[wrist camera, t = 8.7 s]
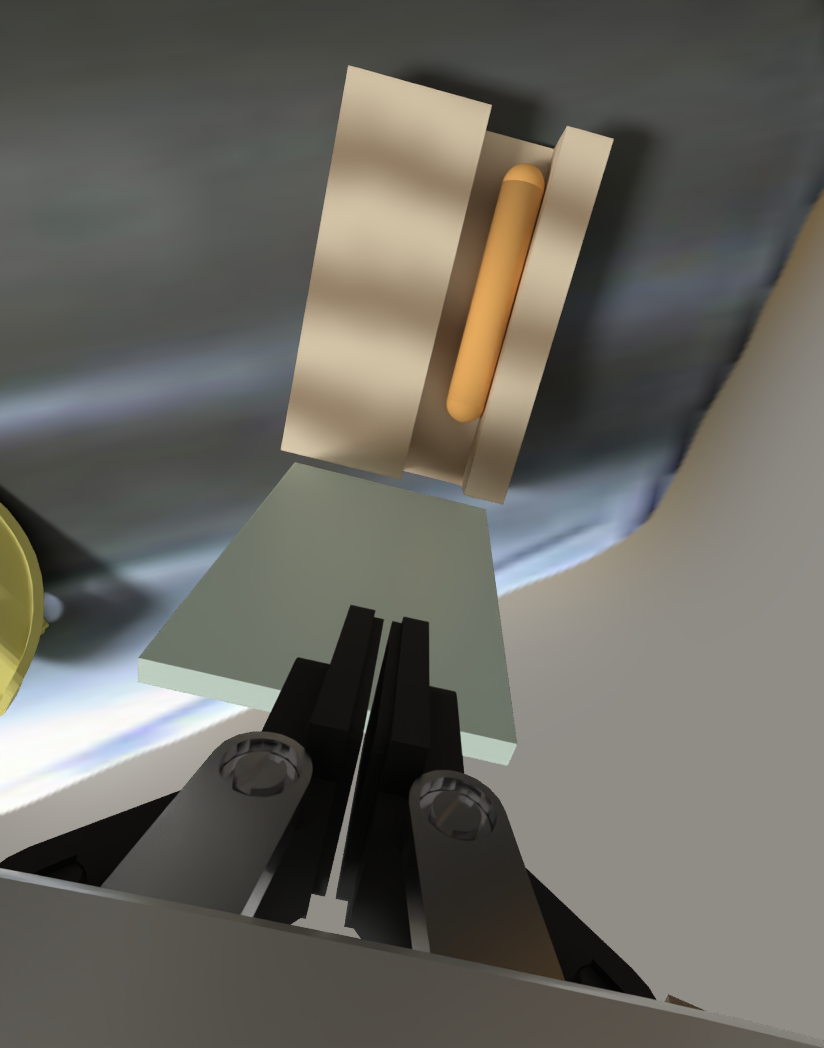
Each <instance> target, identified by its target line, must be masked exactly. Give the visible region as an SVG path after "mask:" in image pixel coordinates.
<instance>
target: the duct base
mask: <svg viewBox="0 0 824 1048" xmlns="http://www.w3.org/2000/svg"><path fill="white" fill-rule="evenodd" d="M491 107H492V105H490V104H486V103H483V102H479V101H475V100H472V99H468V98H465V97H461V96H457V95H454V94H450V93H446V92H443V91H439V90H436V89H432V88H428V87H425V86H421V85H418V84H414V83H410V82H407V81H403V80H400V79H396V78H392V77H389V76H385V75H382V74H378V73H374V72H371V71H367V70H363V69H360V68H356V67H353V66H349V65H348V71H347V76H346V82H345V88H344V93H343V99H342V105H341V110H340V116H339V122H338V127H337V133H336V139H335V145H334V150H333V156H332V162H331V167H330V173H329V179H328V184H327V190H326V196H325V201H324V207H323V213H322V219H321V224H320V230H319V236H318V241H317V247H316V253H315V258H314V264H313V270H312V276H311V281H310V287H309V293H308V298H307V304H306V310H305V315H304V321H303V327H302V332H301V338H300V344H299V350H298V355H297V361H296V367H295V372H294V378H293V384H292V389H291V395H290V401H289V406H288V412H287V418H286V424H285V429H284V435H283V441H282V446H281V450H283V451H287V452H291V453H295V454H300V455H304V456H308V457H312V458H316V459H320V460H324V461H328V462H332V463H336V464H340V465H344V466H348V467H352V468H356V469H360V470H365V471H369V472H373V473H377V474H381V475H385V476H389V477H393V478H397V479H401V477H402V473H403V471H407V472H411V473H415V474H419V475H423V476H427V477H431V478H435V479H439V480H443V481H447V482H451V483H455V484H459V485H461V486H462V490H463V493H464V495H466V496H470V497H474V498H478V499H482V500H486V501H490V502H494V503H499V504H504V500H505V497H506V494H507V490H508V487H509V484H510V480H511V477H512V474H513V470H514V467H515V464H516V461H517V457H518V454H519V451H520V447H521V444H522V441H523V437H524V434H525V431H526V427H527V424H528V421H529V418H530V414H531V411H532V408H533V404H534V401H535V398H536V394H537V391H538V388H539V384H540V381H541V378H542V375H543V371H544V368H545V365H546V361H547V358H548V355H549V351H550V348H551V345H552V342H553V338H554V335H555V332H556V328H557V325H558V322H559V318H560V315H561V312H562V308H563V305H564V302H565V299H566V295H567V292H568V289H569V285H570V282H571V279H572V275H573V272H574V269H575V265H576V262H577V259H578V256H579V252H580V249H581V246H582V242H583V239H584V236H585V232H586V229H587V226H588V222H589V219H590V216H591V213H592V209H593V206H594V203H595V199H596V196H597V193H598V189H599V186H600V183H601V180H602V176H603V173H604V170H605V166H606V163H607V160H608V156H609V153H610V150H611V146H612V143H613V140H614V139H612V138H609V137H605V136H602V135H598V134H594V133H591V132H587V131H584V130H580V129H576V128H573V127H569V126H567V127H566V129H565V131H564V132H563V134H562V136H561V138H560V139H559V141H558V143H557V145H556V146H555V148H554V149H552V148H548V147H544V146H541V145H537V144H534V143H530V142H526V141H523V140H519V139H515V138H512V137H508V136H504V135H501V134H497V133H494V132H490V131H486V127H487V123H488V119H489V115H490V111H491ZM522 163H529V164H532V165H534V166H536V167H537V168H538V169H539V170H540V172H541V173H542V175H543V178H544V183H545V188H544V194H543V197H542V201H541V205H540V208H539V212H538V216H537V219H536V223H535V226H534V230H533V234H532V237H531V241H530V245H529V248H528V252H527V255H526V259H525V263H524V266H523V270H522V274H521V277H520V281H519V284H518V288H517V292H516V295H515V299H514V303H513V306H512V310H511V313H510V317H509V321H508V324H507V328H506V332H505V335H504V339H503V342H502V346H501V350H500V353H499V357H498V360H497V364H496V368H495V371H494V375H493V379H492V382H491V386H490V389H489V393H488V397H487V400H486V404H485V408H484V410H483V412H482V414H481V415H480V416H479V417H478V418H477V419H476V420H474V421H471V422H460V421H457V420H455V419H454V418H453V417H452V416H451V415H450V414H449V412H448V410H447V405H446V401H447V396H448V392H449V388H450V384H451V380H452V376H453V372H454V368H455V365H456V361H457V357H458V353H459V349H460V345H461V341H462V337H463V333H464V329H465V325H466V321H467V318H468V314H469V310H470V306H471V302H472V298H473V294H474V290H475V286H476V282H477V278H478V274H479V271H480V267H481V263H482V259H483V255H484V251H485V247H486V243H487V239H488V235H489V231H490V227H491V224H492V220H493V216H494V212H495V208H496V204H497V200H498V196H499V192H500V188H501V184H502V181H503V179H504V177H505V175H506V173H507V172H508V171H509V170H510V169H511V168H513V167H514V166H516V165H518V164H522Z"/></svg>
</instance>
